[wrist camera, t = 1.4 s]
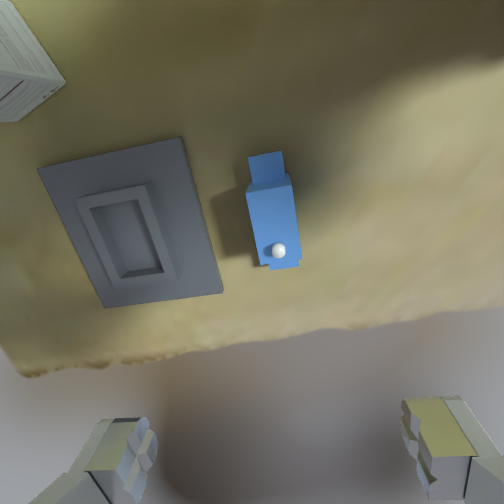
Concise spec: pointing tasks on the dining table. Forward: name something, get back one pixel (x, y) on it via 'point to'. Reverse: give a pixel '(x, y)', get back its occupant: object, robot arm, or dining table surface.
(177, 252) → the plate
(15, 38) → the supplement box
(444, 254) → the dining table surface
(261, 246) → the servo block
